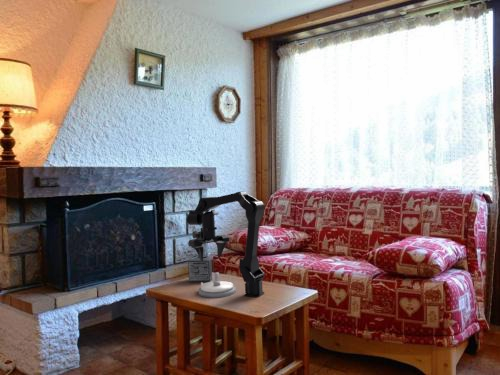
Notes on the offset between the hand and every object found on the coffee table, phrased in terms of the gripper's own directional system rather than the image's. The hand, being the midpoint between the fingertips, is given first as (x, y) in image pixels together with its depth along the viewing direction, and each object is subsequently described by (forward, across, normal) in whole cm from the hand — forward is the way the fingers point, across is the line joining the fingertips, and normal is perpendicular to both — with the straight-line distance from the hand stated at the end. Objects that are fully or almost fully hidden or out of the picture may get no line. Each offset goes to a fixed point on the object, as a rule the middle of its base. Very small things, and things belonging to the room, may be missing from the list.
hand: (210, 259), depth 190 cm
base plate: (+13, +2, +6) cm, 15 cm away
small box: (+13, -4, -16) cm, 21 cm away
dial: (+11, +2, +7) cm, 13 cm away
